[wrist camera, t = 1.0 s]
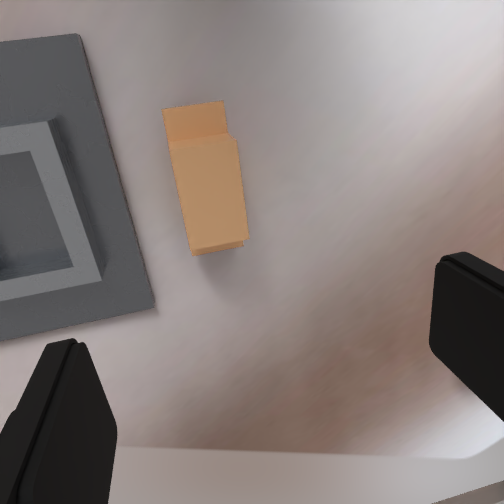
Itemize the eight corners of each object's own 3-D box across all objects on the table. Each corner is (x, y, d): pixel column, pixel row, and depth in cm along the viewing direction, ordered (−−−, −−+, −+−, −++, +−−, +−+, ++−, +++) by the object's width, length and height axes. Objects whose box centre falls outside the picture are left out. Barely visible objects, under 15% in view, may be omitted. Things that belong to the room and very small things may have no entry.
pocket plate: (-175, 63, 21) (-223, 61, 19) (79, 35, 23) (69, 29, 21) (-21, 338, 30) (-38, 364, 27) (154, 301, 32) (153, 321, 29)
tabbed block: (161, 106, 26) (161, 114, 21) (217, 98, 27) (231, 104, 21) (189, 242, 31) (195, 277, 25) (237, 233, 31) (253, 265, 26)
